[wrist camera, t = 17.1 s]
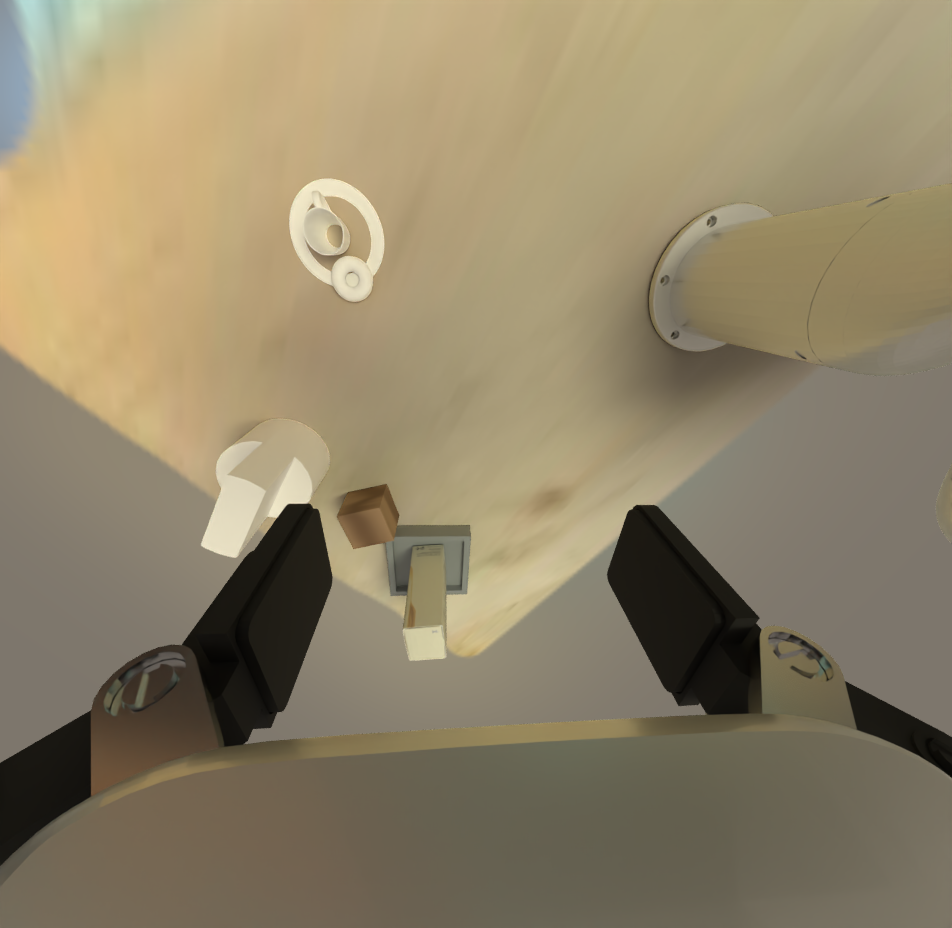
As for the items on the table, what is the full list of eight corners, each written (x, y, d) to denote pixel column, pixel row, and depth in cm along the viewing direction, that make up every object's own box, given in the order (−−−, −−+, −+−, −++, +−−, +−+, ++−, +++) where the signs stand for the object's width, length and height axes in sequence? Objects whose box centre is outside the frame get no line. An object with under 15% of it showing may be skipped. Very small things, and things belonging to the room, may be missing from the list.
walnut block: (386, 483, 42) (379, 507, 38) (399, 514, 44) (393, 540, 40) (348, 491, 42) (336, 516, 38) (362, 522, 45) (353, 548, 40)
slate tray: (469, 525, 46) (470, 536, 44) (466, 582, 51) (467, 594, 49) (387, 525, 45) (385, 536, 43) (392, 583, 50) (390, 595, 48)
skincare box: (411, 545, 45) (400, 627, 35) (444, 542, 46) (442, 623, 35) (416, 578, 49) (408, 663, 38) (447, 576, 49) (446, 660, 38)
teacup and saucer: (379, 306, 33) (371, 310, 29) (292, 285, 31) (272, 286, 28) (390, 196, 29) (381, 185, 25) (290, 166, 27) (267, 149, 24)
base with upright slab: (313, 498, 42) (269, 571, 32) (237, 466, 39) (161, 534, 29) (342, 442, 39) (303, 503, 28) (261, 403, 36) (185, 454, 26)
